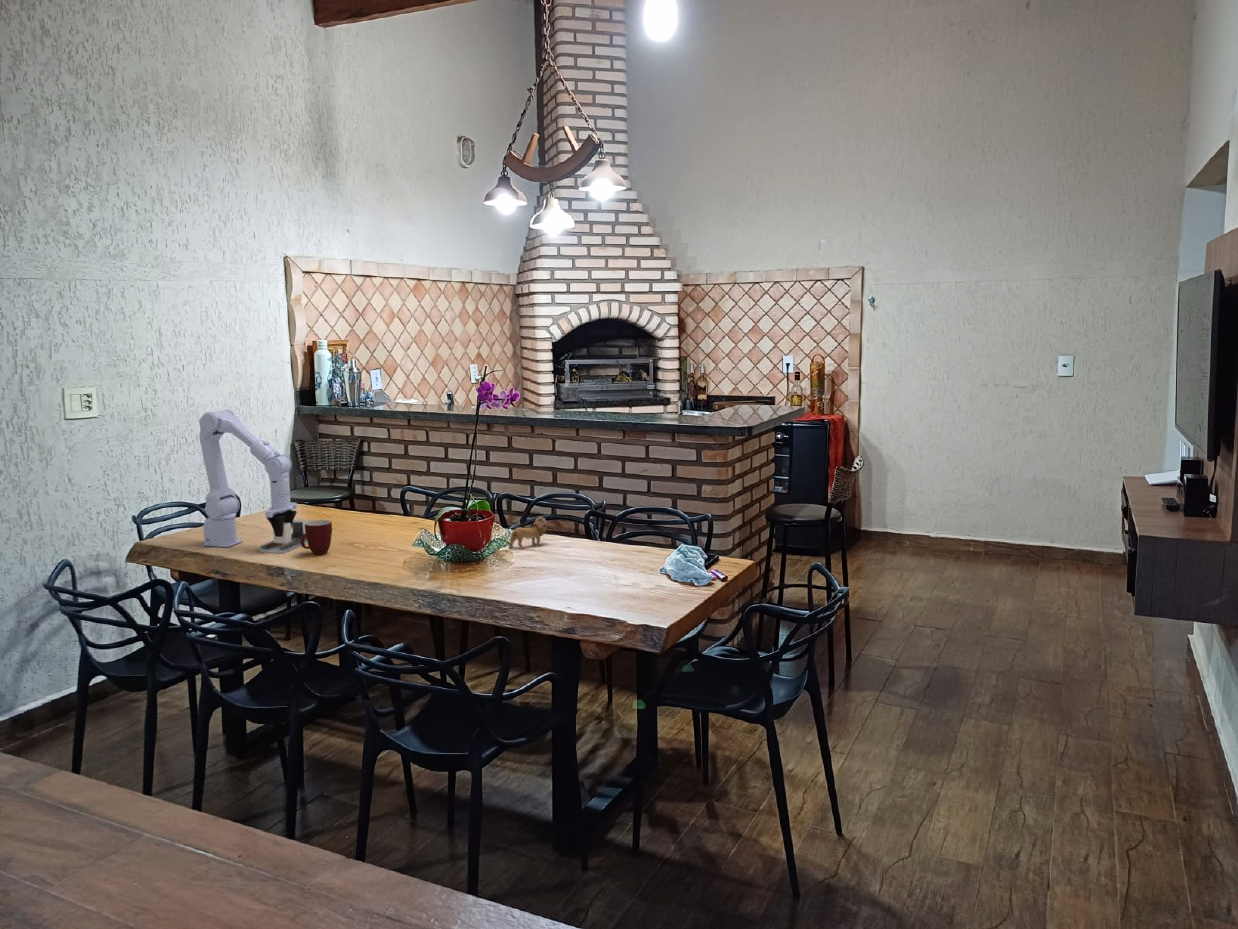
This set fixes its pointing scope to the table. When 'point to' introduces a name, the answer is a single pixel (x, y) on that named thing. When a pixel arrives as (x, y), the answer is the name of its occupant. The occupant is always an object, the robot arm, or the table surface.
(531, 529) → the lion figurine
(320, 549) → the mug
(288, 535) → the white rectangular block
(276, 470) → the robot arm
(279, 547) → the rail
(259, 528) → the table surface
